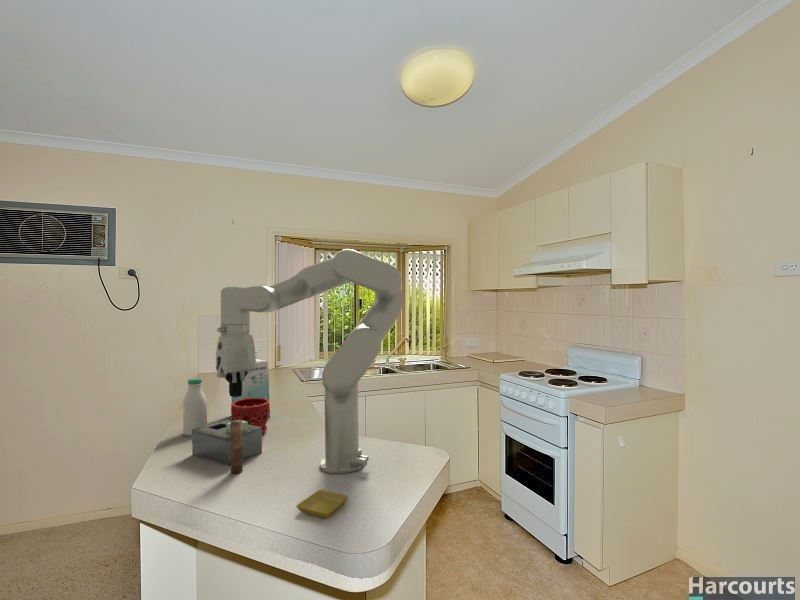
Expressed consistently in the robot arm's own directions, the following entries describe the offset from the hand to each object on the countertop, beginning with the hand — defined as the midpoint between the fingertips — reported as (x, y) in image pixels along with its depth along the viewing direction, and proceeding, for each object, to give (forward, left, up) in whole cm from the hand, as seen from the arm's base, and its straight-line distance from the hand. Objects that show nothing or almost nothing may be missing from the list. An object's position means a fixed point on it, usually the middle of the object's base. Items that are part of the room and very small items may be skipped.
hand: (235, 396), depth 110 cm
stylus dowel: (0, 0, -21) cm, 21 cm away
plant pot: (+25, -24, -21) cm, 40 cm away
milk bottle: (+45, -15, -21) cm, 52 cm away
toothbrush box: (+45, -39, -21) cm, 63 cm away
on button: (+10, -7, -16) cm, 20 cm away
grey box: (+15, -7, -21) cm, 27 cm away
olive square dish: (-35, +3, -22) cm, 42 cm away
